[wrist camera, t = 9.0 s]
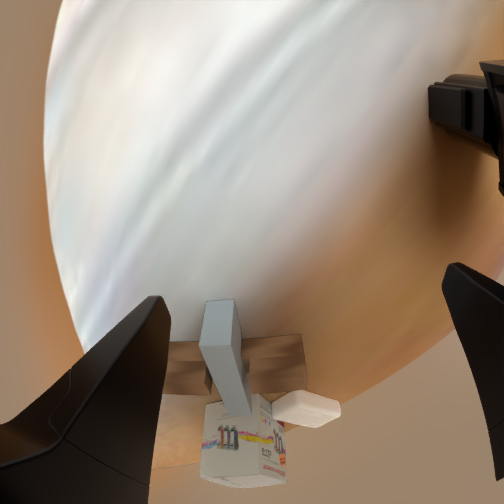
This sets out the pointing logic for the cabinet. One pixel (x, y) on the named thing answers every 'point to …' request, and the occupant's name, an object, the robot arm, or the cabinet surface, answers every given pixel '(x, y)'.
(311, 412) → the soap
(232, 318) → the light blue block
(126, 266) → the cabinet surface
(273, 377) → the brown boxy piece
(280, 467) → the ink box
